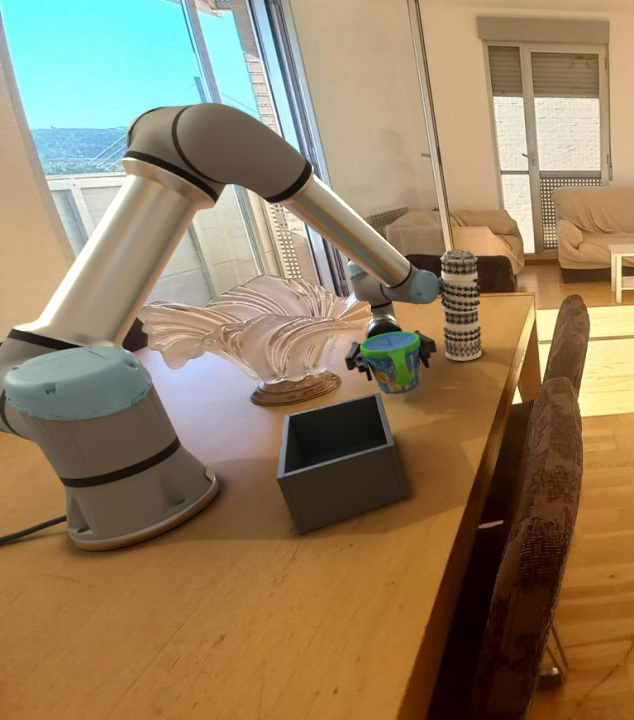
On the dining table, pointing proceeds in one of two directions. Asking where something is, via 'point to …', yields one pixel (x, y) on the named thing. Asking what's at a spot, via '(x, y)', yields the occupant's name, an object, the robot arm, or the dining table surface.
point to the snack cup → (394, 361)
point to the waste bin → (338, 462)
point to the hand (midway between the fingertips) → (398, 367)
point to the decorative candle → (460, 305)
